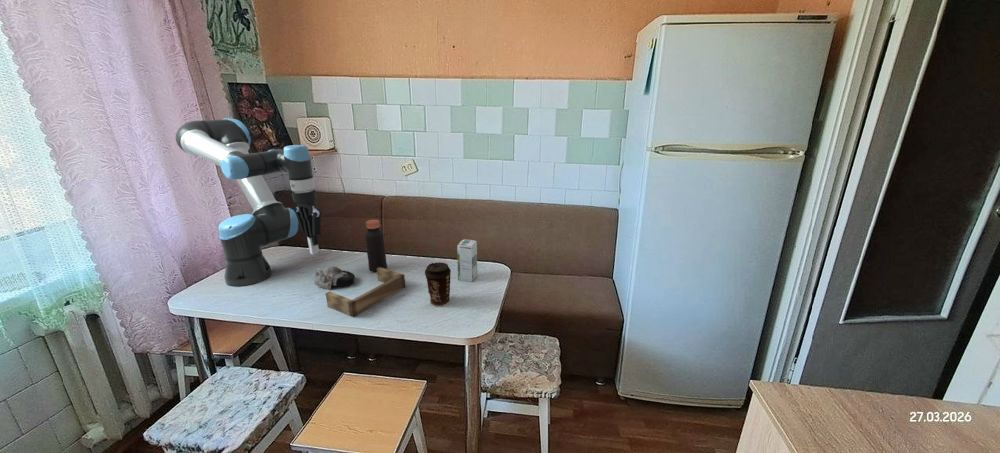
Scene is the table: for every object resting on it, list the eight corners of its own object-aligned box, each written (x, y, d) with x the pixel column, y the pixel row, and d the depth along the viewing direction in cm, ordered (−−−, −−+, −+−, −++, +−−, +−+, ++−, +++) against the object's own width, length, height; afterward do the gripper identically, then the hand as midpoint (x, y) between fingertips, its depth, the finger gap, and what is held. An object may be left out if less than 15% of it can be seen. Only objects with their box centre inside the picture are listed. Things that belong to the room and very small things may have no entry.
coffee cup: (430, 294, 137) (427, 260, 132) (453, 295, 136) (452, 260, 132) (424, 308, 129) (422, 271, 124) (450, 308, 128) (448, 272, 124)
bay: (327, 306, 130) (325, 293, 128) (381, 279, 148) (379, 267, 147) (353, 317, 124) (351, 303, 122) (405, 287, 142) (404, 274, 140)
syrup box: (463, 273, 152) (462, 238, 147) (477, 275, 151) (477, 240, 146) (457, 280, 147) (456, 244, 142) (472, 282, 145) (471, 245, 141)
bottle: (386, 272, 154) (381, 223, 147) (368, 273, 152) (362, 224, 146) (387, 264, 160) (382, 218, 154) (369, 266, 159) (364, 219, 152)
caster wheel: (357, 286, 148) (340, 295, 139) (331, 276, 151) (313, 285, 141) (360, 270, 147) (343, 278, 137) (334, 260, 149) (315, 268, 140)
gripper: (282, 190, 138) (294, 252, 146) (305, 194, 132) (316, 259, 139) (302, 186, 144) (313, 246, 152) (324, 190, 138) (334, 252, 145)
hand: (314, 252), depth 146 cm, fingers closed
